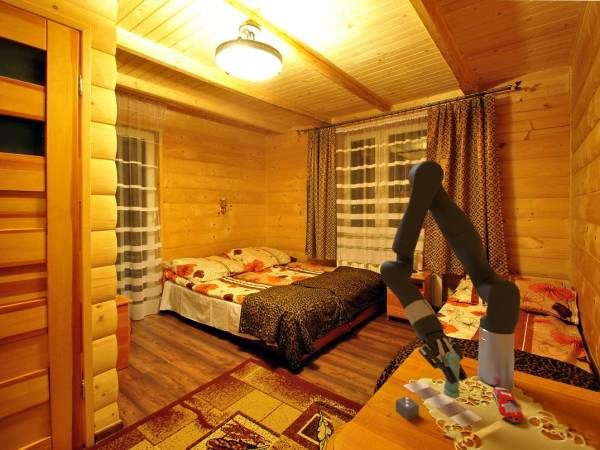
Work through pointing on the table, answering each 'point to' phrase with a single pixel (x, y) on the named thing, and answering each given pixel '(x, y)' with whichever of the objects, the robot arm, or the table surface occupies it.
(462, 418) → the board
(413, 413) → the die
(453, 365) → the pawn
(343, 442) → the table surface
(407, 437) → the table surface
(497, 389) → the race car
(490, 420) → the table surface
